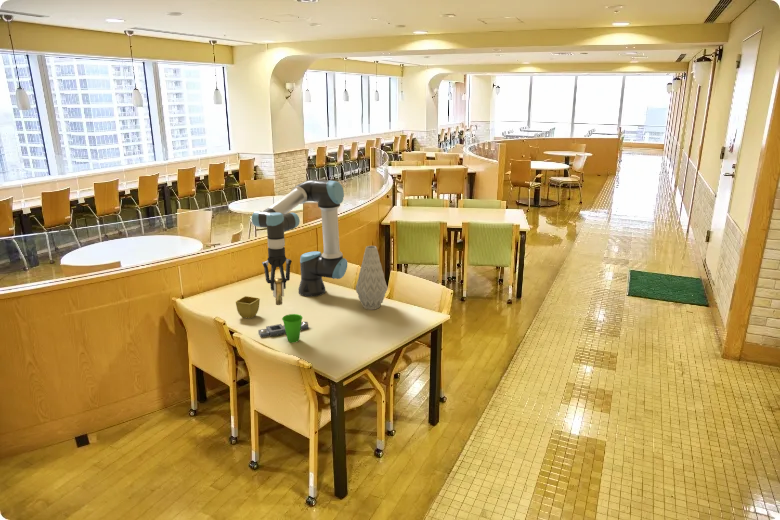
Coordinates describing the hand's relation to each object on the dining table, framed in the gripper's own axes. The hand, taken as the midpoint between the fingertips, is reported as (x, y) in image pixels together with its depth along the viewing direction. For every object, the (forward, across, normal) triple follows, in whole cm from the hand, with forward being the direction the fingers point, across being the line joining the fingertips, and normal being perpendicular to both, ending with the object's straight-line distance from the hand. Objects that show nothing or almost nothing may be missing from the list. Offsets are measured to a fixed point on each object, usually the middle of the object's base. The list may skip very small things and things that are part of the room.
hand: (278, 296), depth 246 cm
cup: (+18, -2, +13) cm, 22 cm away
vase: (+17, -52, -9) cm, 55 cm away
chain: (+17, -2, +1) cm, 18 cm away
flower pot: (+18, +9, -24) cm, 31 cm away
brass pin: (+4, 0, 0) cm, 4 cm away
